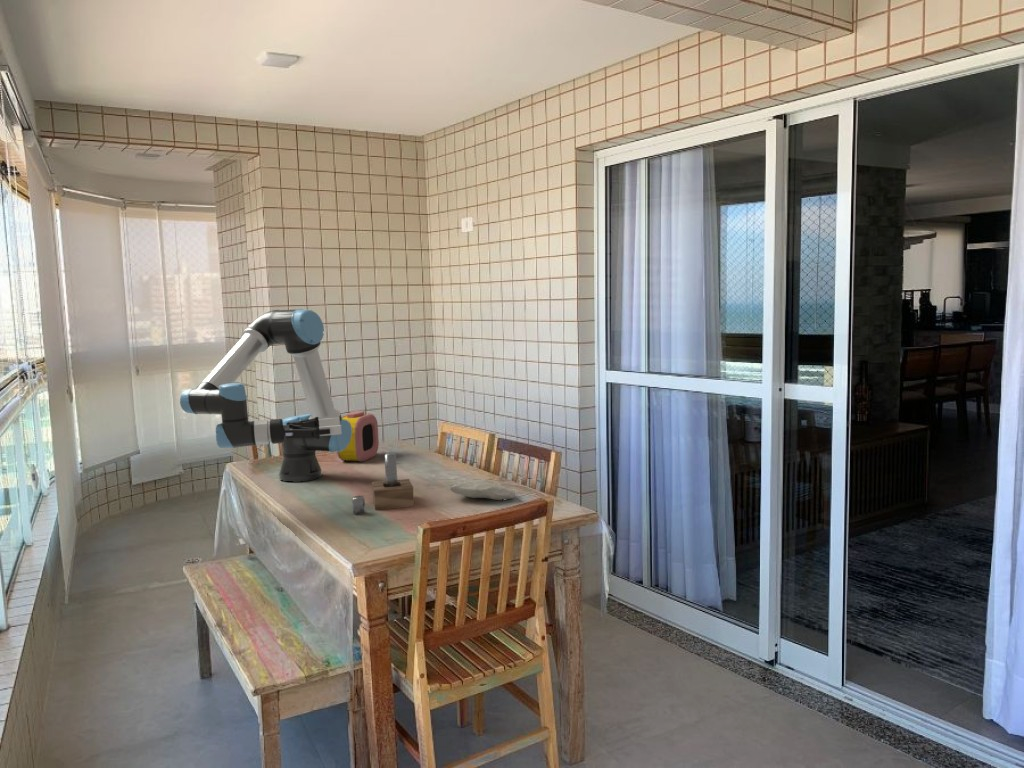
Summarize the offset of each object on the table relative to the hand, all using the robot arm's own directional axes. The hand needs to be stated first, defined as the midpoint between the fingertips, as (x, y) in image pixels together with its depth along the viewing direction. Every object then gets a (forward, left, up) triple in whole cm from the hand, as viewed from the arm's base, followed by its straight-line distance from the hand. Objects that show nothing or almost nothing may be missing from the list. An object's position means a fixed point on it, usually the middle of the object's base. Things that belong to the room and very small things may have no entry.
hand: (340, 425), depth 242 cm
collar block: (+2, +15, -26) cm, 30 cm away
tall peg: (+2, +15, -26) cm, 30 cm away
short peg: (+10, +4, -26) cm, 28 cm away
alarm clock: (-71, +7, -26) cm, 76 cm away
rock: (+4, +42, -26) cm, 50 cm away
